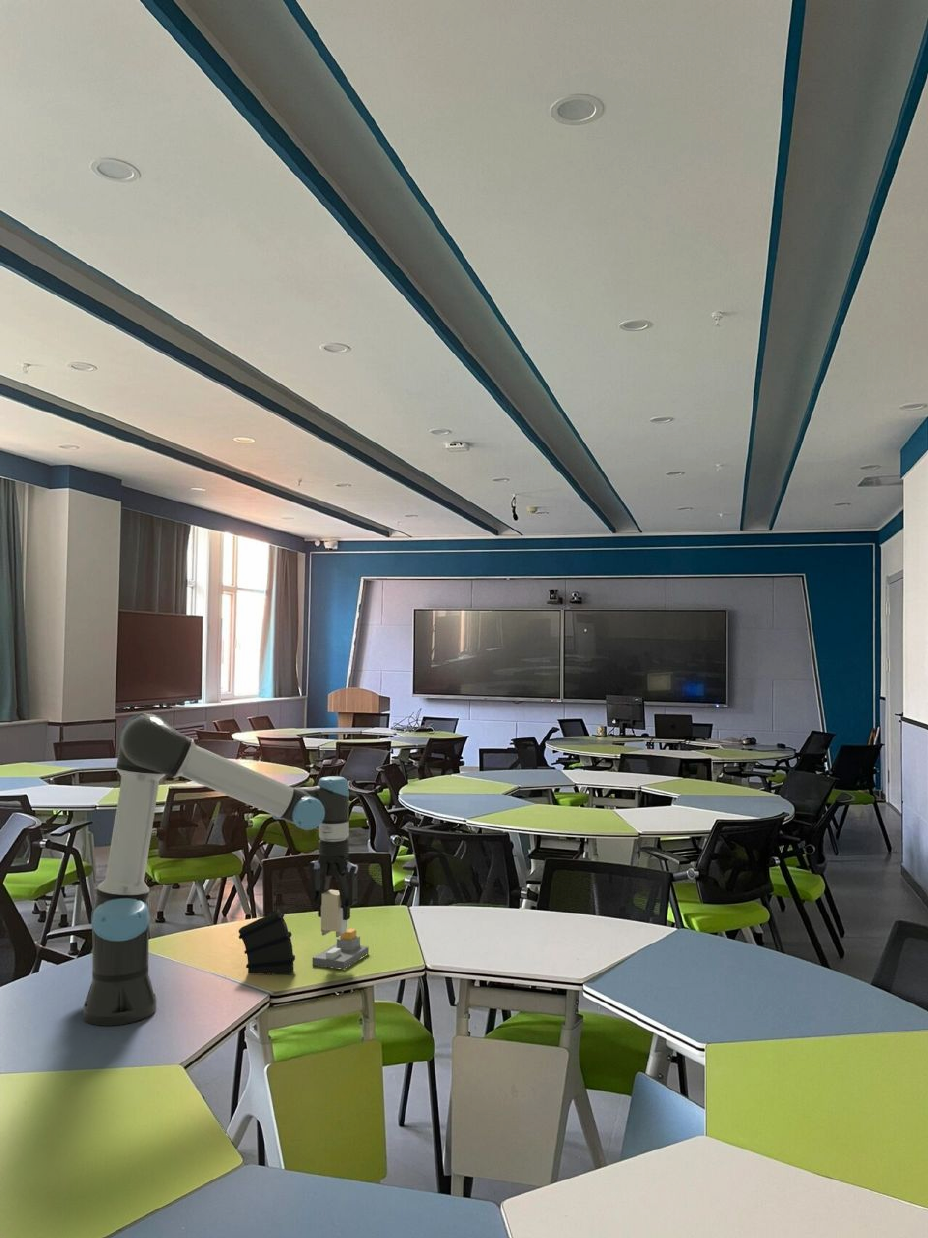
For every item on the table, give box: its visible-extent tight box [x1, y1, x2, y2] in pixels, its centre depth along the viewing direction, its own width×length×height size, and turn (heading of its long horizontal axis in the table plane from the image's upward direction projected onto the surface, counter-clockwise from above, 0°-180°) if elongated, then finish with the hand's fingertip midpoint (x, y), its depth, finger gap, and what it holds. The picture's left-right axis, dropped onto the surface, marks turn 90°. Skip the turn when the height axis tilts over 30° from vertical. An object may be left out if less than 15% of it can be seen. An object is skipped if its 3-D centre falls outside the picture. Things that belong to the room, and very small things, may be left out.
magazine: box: [238, 909, 296, 975], centre depth 235 cm, size 4×13×15 cm, turn 88°
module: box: [321, 889, 346, 938], centre depth 241 cm, size 5×4×10 cm
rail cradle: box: [312, 935, 370, 970], centre depth 244 cm, size 9×13×4 cm
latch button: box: [340, 927, 357, 940], centre depth 248 cm, size 3×3×3 cm
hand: (334, 931), depth 241 cm, fingers closed on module, 5 cm apart
